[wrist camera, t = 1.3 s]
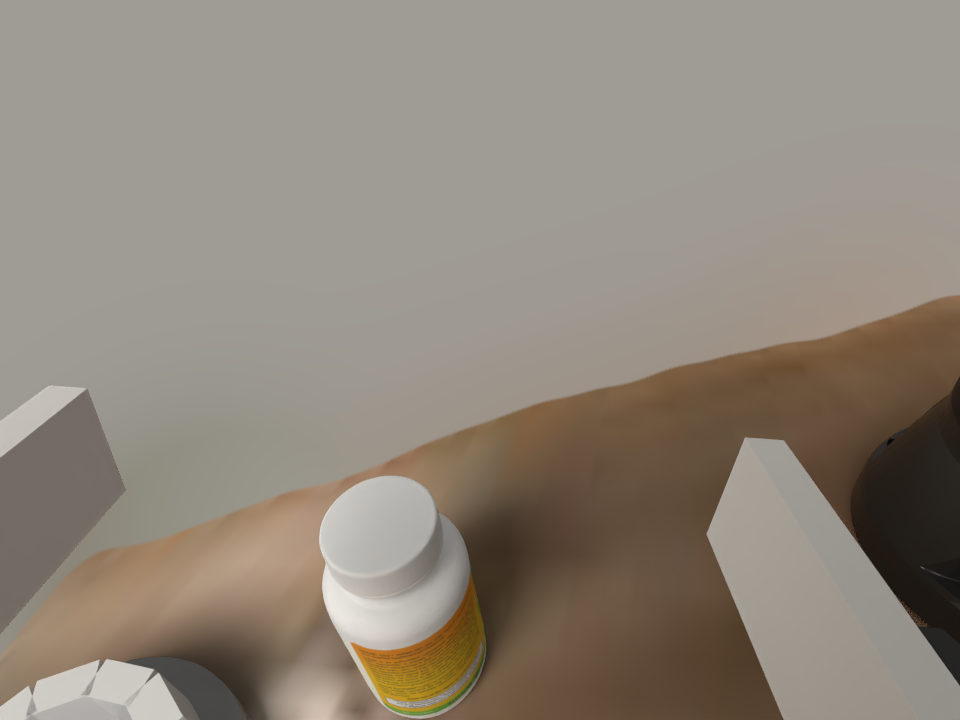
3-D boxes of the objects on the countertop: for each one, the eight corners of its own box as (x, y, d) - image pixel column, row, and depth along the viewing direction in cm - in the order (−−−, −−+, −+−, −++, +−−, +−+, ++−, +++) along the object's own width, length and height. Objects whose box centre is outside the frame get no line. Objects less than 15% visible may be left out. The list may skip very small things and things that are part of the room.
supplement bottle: (512, 644, 27) (492, 508, 20) (423, 755, 24) (363, 638, 17) (430, 572, 31) (389, 437, 24) (342, 660, 27) (265, 532, 20)
